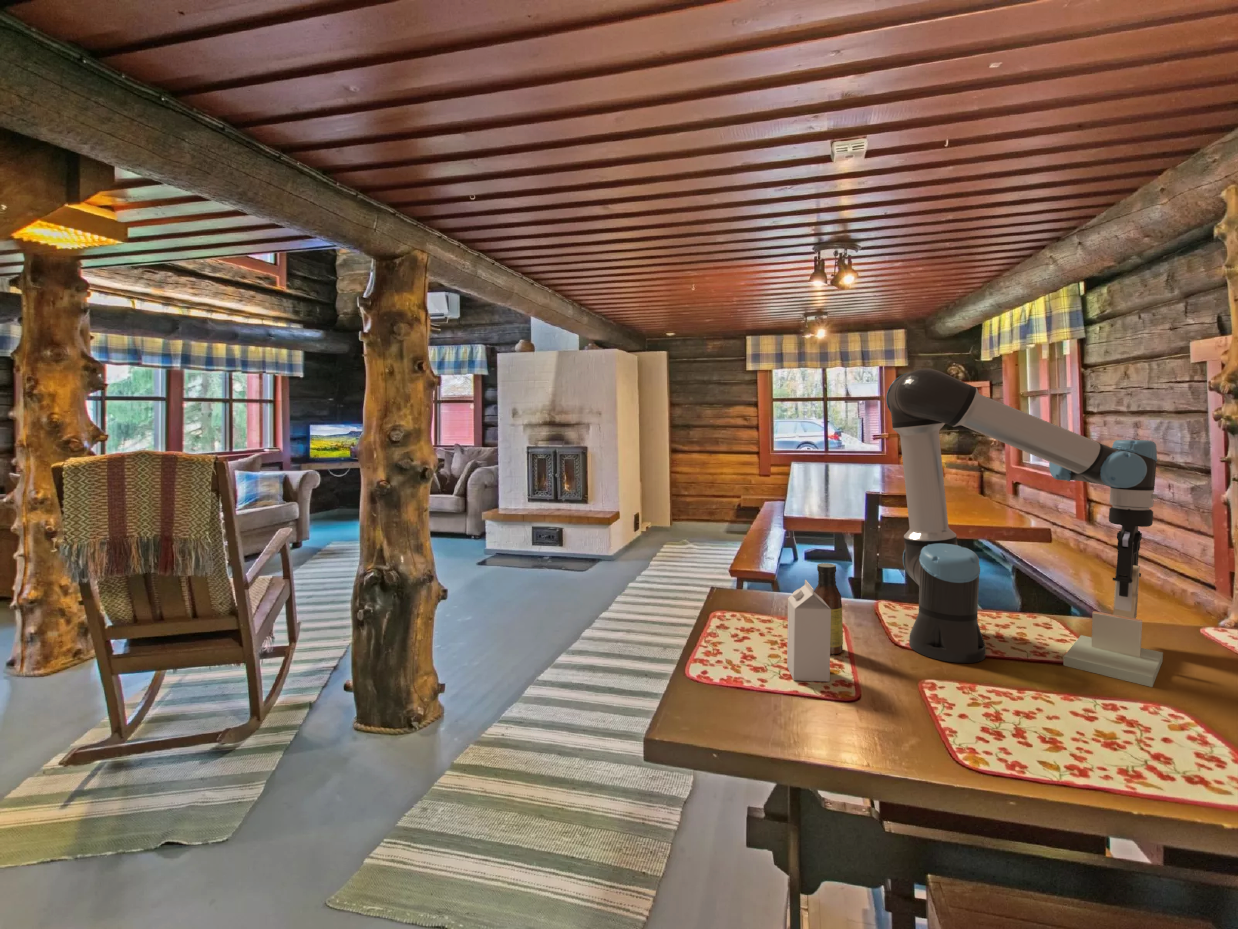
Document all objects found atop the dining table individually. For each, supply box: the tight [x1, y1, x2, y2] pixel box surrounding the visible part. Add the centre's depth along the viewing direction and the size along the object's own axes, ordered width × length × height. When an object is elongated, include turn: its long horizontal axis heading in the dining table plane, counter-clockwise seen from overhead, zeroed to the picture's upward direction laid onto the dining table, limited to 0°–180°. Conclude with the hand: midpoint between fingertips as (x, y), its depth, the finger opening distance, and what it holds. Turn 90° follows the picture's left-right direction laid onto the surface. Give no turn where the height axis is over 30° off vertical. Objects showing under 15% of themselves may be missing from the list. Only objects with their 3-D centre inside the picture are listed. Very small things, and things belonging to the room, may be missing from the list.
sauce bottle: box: [814, 562, 844, 655], centre depth 131 cm, size 7×6×20 cm
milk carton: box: [786, 579, 831, 683], centre depth 119 cm, size 7×7×19 cm
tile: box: [1091, 610, 1143, 657], centre depth 124 cm, size 8×8×1 cm
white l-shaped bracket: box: [1112, 565, 1141, 619], centre depth 130 cm, size 15×6×12 cm, turn 132°
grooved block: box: [1063, 634, 1164, 688], centre depth 123 cm, size 18×14×2 cm
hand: (1125, 606), depth 133 cm, fingers closed on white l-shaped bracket, 6 cm apart
